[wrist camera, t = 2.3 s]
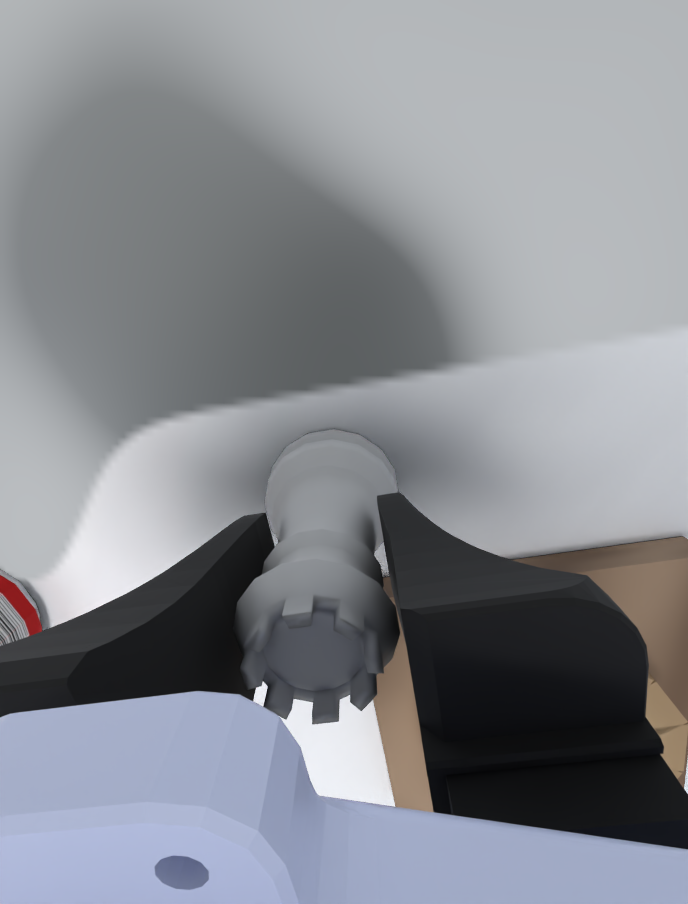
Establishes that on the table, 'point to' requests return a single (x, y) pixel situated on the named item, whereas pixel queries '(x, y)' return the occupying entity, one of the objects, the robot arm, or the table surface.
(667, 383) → the table surface
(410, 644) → the robot arm
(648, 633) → the tan flat square plate
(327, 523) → the rook chess piece
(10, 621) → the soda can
